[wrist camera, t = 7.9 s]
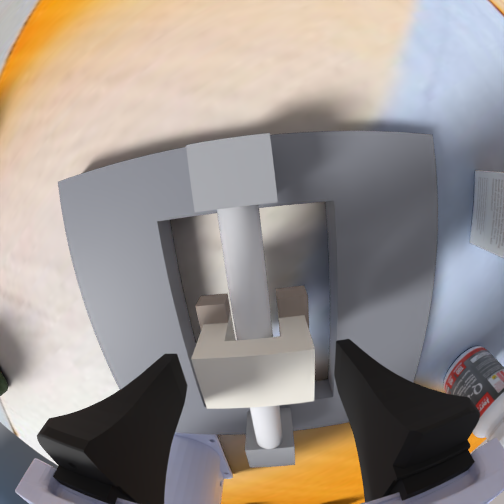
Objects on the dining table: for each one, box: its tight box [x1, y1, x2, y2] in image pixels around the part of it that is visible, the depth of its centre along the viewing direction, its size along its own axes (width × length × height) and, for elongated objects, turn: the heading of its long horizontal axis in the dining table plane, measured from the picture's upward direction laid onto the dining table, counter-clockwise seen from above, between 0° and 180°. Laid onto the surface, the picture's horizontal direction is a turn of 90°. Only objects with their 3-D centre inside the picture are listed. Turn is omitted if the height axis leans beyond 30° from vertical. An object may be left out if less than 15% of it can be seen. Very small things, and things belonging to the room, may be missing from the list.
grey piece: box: [58, 131, 438, 467], centre depth 14 cm, size 20×22×6 cm
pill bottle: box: [444, 346, 504, 448], centre depth 14 cm, size 6×6×10 cm
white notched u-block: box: [191, 285, 315, 409], centre depth 12 cm, size 5×5×4 cm
